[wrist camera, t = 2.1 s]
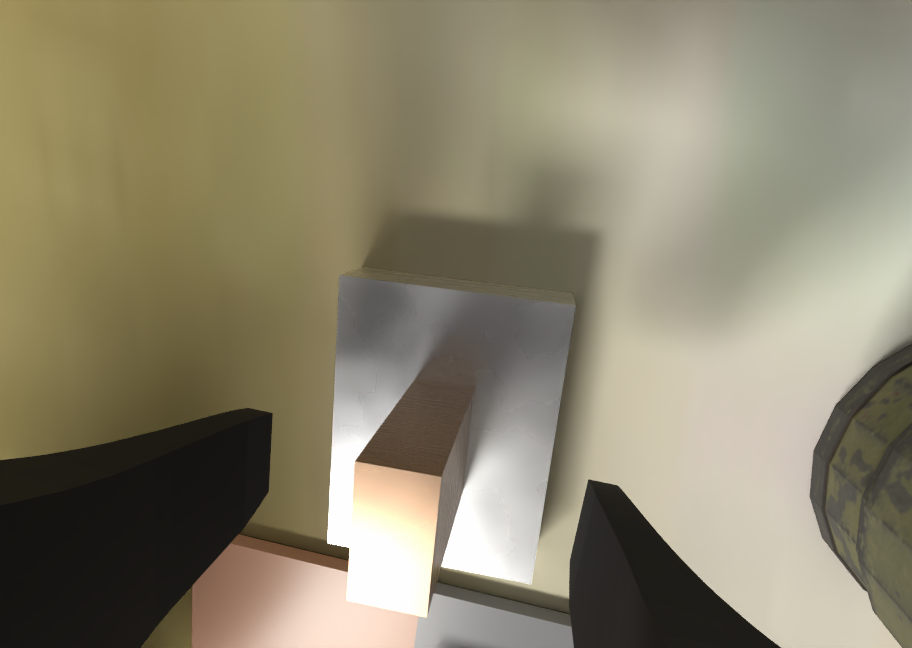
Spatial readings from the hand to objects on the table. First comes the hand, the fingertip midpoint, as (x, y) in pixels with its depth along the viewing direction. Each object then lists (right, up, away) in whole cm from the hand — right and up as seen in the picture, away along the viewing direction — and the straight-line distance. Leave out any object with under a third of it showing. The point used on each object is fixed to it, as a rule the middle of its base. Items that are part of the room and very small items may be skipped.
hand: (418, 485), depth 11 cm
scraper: (+1, +1, +4) cm, 5 cm away
